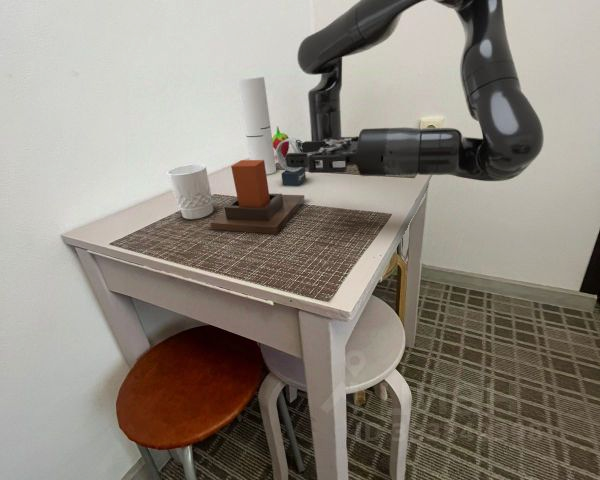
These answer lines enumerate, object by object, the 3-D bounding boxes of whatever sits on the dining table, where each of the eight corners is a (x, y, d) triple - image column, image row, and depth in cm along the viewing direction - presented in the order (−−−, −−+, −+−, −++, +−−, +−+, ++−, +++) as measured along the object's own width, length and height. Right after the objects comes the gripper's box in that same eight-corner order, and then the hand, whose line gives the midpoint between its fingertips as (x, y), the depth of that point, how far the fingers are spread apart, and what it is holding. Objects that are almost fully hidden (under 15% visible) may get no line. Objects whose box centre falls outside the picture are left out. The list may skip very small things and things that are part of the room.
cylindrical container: (280, 170, 96) (268, 76, 85) (259, 176, 93) (244, 79, 81) (268, 166, 102) (256, 77, 90) (248, 172, 98) (232, 80, 87)
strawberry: (270, 159, 109) (266, 128, 105) (277, 154, 116) (273, 124, 111) (287, 159, 108) (283, 127, 103) (293, 153, 114) (290, 123, 109)
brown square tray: (248, 199, 77) (245, 183, 75) (304, 201, 73) (303, 184, 71) (211, 229, 64) (207, 210, 62) (277, 234, 60) (274, 214, 58)
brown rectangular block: (249, 207, 69) (241, 160, 64) (271, 208, 67) (264, 159, 62) (240, 215, 65) (230, 166, 61) (263, 216, 64) (255, 165, 59)
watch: (305, 186, 82) (301, 141, 77) (276, 185, 85) (270, 141, 80) (313, 179, 86) (309, 136, 81) (285, 178, 89) (280, 136, 84)
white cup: (178, 211, 75) (165, 168, 70) (212, 203, 77) (202, 161, 72) (181, 224, 68) (168, 177, 63) (219, 214, 71) (208, 169, 66)
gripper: (394, 120, 57) (306, 124, 62) (385, 138, 45) (277, 141, 50) (392, 163, 60) (309, 163, 66) (383, 189, 49) (283, 187, 54)
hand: (295, 153), depth 58 cm, fingers open, 8 cm apart
